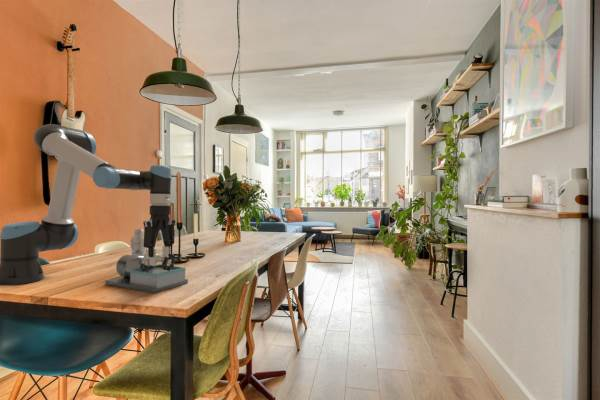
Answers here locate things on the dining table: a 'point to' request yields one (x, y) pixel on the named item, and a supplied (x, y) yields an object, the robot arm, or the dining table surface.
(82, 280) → the dining table surface
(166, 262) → the valve
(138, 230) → the plastic bottle
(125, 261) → the motor stand
